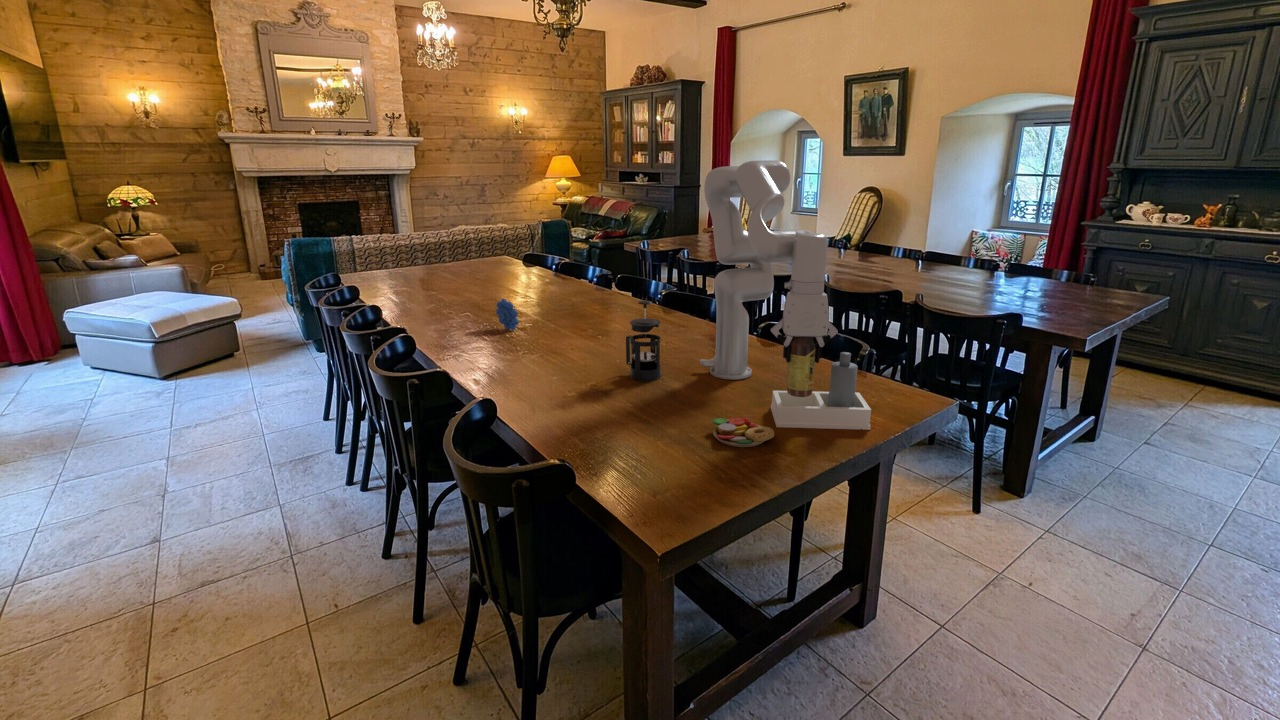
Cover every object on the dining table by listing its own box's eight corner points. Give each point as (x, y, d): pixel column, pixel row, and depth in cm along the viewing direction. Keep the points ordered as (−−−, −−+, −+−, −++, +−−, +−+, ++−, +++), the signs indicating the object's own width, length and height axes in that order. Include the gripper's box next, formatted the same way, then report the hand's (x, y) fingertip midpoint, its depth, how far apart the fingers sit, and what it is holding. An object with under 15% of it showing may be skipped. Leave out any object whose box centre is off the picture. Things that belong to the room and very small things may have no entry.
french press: (668, 374, 183) (669, 300, 176) (652, 384, 176) (652, 306, 169) (636, 368, 189) (635, 296, 182) (619, 377, 182) (617, 302, 175)
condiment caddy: (776, 427, 146) (780, 360, 141) (770, 408, 158) (774, 345, 152) (870, 429, 144) (878, 361, 139) (857, 410, 156) (864, 346, 150)
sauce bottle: (813, 399, 146) (819, 318, 140) (786, 397, 147) (791, 317, 141) (811, 389, 152) (817, 312, 146) (786, 388, 153) (791, 311, 147)
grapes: (489, 329, 236) (487, 299, 232) (503, 326, 241) (500, 296, 237) (510, 334, 229) (507, 303, 226) (523, 330, 234) (521, 299, 231)
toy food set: (779, 446, 137) (780, 433, 136) (725, 454, 134) (726, 440, 133) (752, 423, 149) (753, 411, 148) (702, 430, 146) (703, 417, 145)
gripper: (771, 290, 138) (767, 365, 144) (849, 291, 137) (841, 366, 142) (767, 284, 146) (764, 355, 151) (841, 284, 144) (835, 357, 149)
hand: (801, 360), depth 147 cm, fingers closed on sauce bottle, 6 cm apart
